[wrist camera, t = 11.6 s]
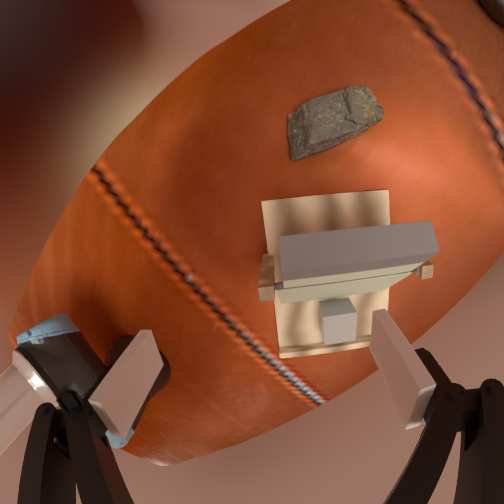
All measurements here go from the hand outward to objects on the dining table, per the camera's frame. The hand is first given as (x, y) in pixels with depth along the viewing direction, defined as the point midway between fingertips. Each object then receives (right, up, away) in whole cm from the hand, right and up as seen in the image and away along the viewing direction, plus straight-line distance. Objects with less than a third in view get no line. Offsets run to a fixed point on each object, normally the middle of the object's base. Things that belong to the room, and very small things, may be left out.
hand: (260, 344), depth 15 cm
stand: (+13, 0, +31) cm, 34 cm away
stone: (+13, -4, +28) cm, 31 cm away
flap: (+12, +4, +21) cm, 24 cm away
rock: (+11, +26, +24) cm, 37 cm away
